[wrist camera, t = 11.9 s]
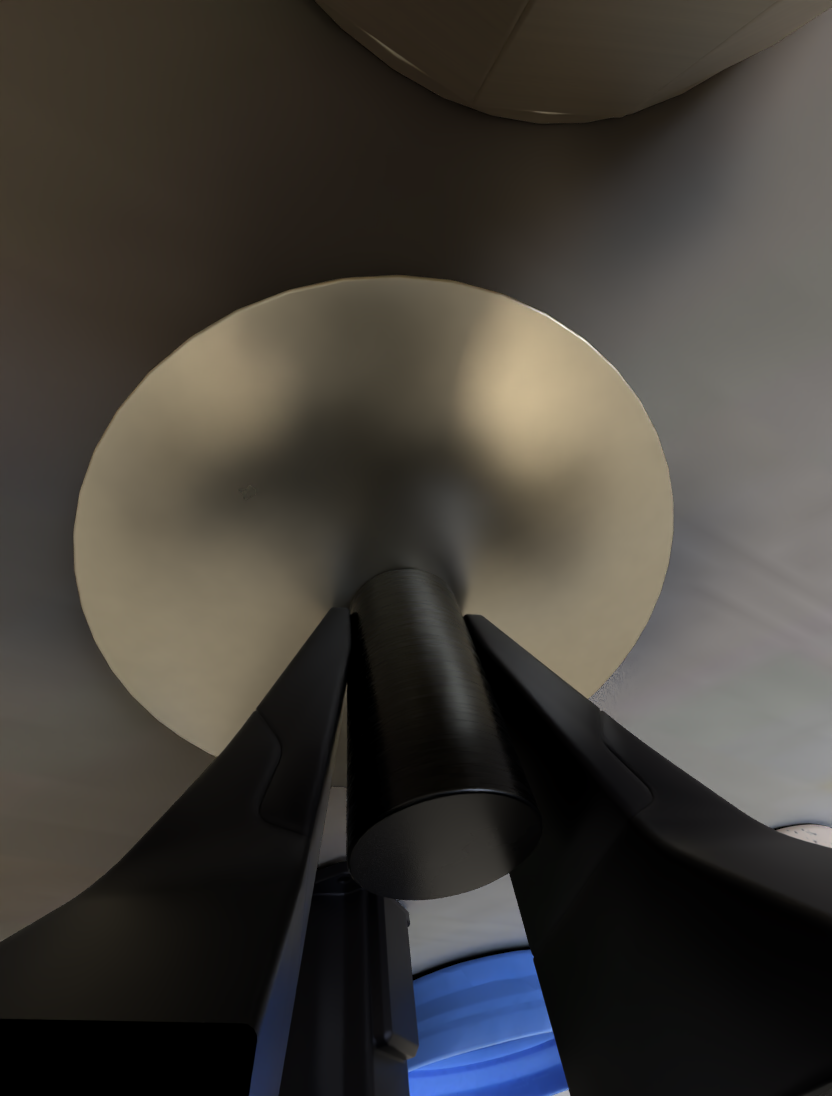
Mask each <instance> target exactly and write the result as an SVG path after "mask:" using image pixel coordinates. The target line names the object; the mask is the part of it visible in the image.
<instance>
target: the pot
mask: <svg viewBox="0 0 832 1096" xmlns="http://www.w3.org/2000/svg"><path fill="white" fill-rule="evenodd" d="M314 1H315V2H316V3H317V4H318V5H319V6H320V7H321V8H322V9H323V10H324V11H325V12H326V13H327V14H328V15H329V16H330V17H331V18H332V19H333V20H334V21H335V22H336V23H337V24H338V25H339V26H340V27H341V28H342V29H343V30H344V31H345V32H347V33H348V34H349V35H351V36H352V37H353V38H354V39H356V40H357V41H358V42H359V43H361V44H362V45H363V46H364V47H366V48H367V49H368V50H369V51H371V52H372V53H373V54H374V55H376V56H377V57H378V58H380V59H381V60H382V61H383V62H385V63H386V64H387V65H388V66H390V67H391V68H392V69H394V70H396V71H397V72H399V73H401V74H403V75H404V76H406V77H408V78H409V79H411V80H413V81H415V82H416V83H418V84H420V85H422V86H423V87H425V88H427V89H429V90H430V91H432V92H434V93H436V94H437V95H439V96H441V97H443V98H445V99H448V100H451V101H453V102H456V103H459V104H462V105H464V106H467V107H470V108H472V109H475V110H478V111H481V112H483V113H486V114H489V115H492V116H497V117H503V118H509V119H515V120H521V121H527V122H532V123H538V124H547V123H588V122H592V121H597V120H602V119H607V118H612V117H616V118H622V117H624V116H625V115H631V114H633V113H635V112H637V111H640V110H643V109H645V108H648V107H650V106H653V105H655V104H658V103H660V102H663V101H665V100H668V99H671V98H673V97H676V96H678V95H681V94H683V93H684V92H686V91H688V90H689V89H691V88H693V87H695V86H696V85H698V84H700V83H702V82H703V81H705V80H707V79H708V78H710V77H712V76H714V75H715V74H717V73H719V72H721V71H722V70H724V69H726V68H728V67H730V66H732V65H734V64H736V63H738V62H740V61H742V60H744V59H746V58H748V57H750V56H753V55H755V54H757V53H759V52H761V51H763V50H765V49H767V48H769V47H771V46H773V45H775V44H776V43H778V42H779V41H781V40H782V39H784V38H785V37H787V36H788V35H790V34H791V33H793V32H794V31H796V30H797V29H799V28H800V27H802V26H804V25H805V24H807V23H808V22H810V21H811V20H813V19H814V18H816V17H817V16H819V15H820V14H822V13H823V12H825V11H826V10H828V9H829V8H831V7H832V0H314Z"/></svg>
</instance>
